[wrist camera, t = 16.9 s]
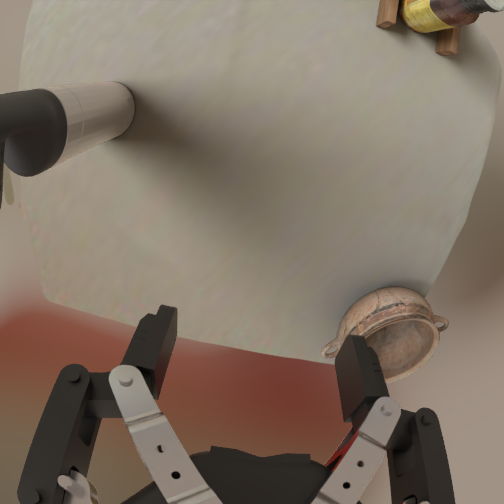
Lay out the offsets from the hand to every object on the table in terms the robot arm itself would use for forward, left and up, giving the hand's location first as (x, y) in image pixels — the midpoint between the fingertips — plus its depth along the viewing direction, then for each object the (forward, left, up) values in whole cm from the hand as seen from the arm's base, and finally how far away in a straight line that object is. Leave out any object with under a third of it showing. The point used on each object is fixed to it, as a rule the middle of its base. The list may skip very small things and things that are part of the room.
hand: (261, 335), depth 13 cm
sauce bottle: (+17, +29, -33) cm, 47 cm away
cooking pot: (+27, -23, -33) cm, 49 cm away
